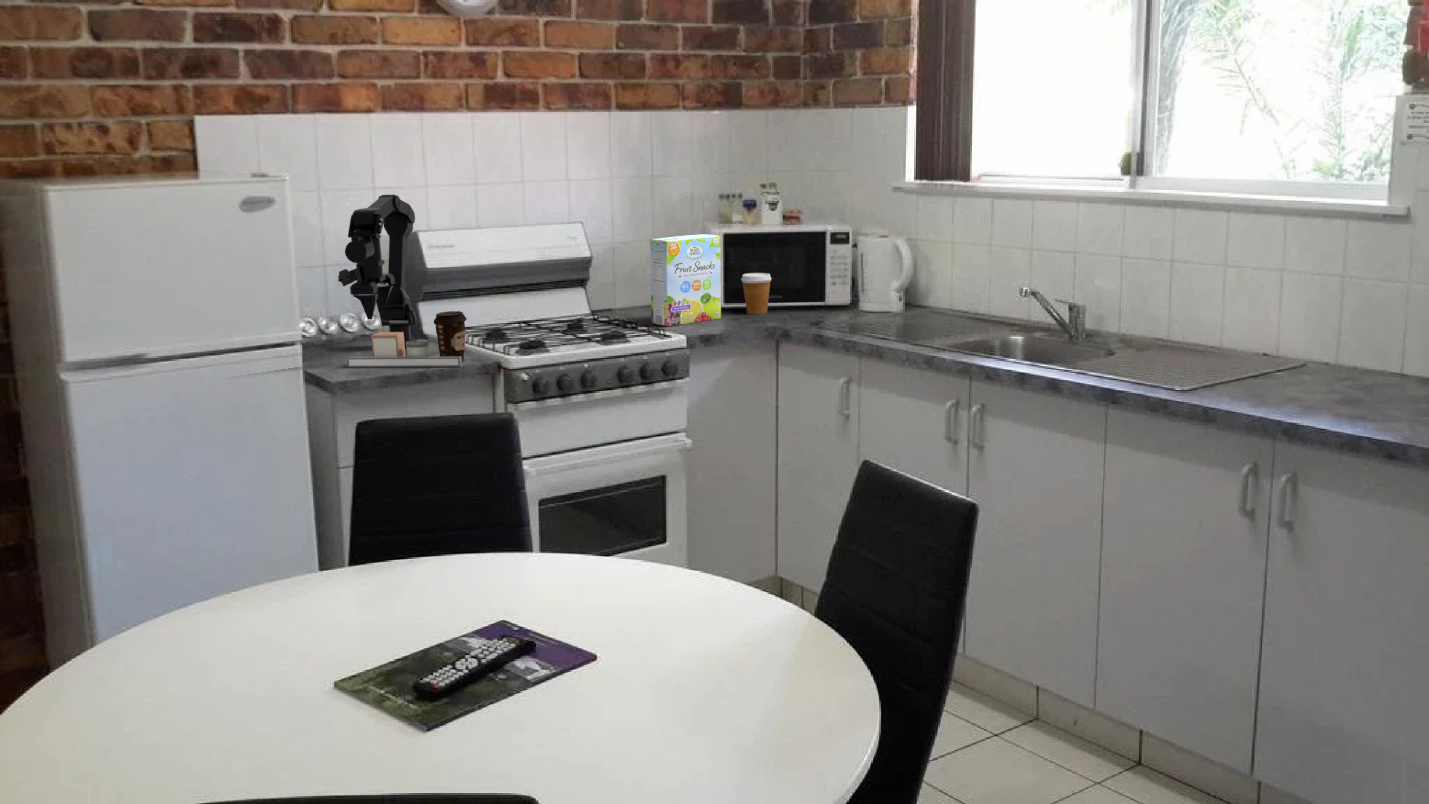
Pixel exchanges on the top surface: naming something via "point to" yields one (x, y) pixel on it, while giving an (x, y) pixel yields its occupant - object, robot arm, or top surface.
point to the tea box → (388, 344)
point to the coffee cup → (451, 333)
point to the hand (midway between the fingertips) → (375, 316)
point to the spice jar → (417, 348)
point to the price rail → (405, 361)
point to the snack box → (685, 279)
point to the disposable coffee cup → (756, 292)
